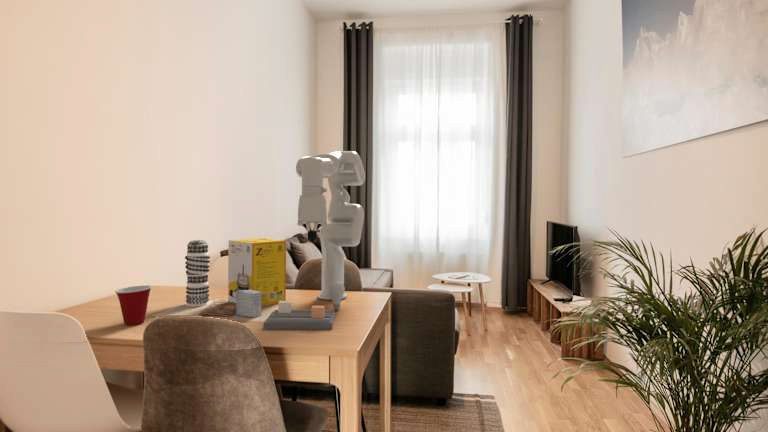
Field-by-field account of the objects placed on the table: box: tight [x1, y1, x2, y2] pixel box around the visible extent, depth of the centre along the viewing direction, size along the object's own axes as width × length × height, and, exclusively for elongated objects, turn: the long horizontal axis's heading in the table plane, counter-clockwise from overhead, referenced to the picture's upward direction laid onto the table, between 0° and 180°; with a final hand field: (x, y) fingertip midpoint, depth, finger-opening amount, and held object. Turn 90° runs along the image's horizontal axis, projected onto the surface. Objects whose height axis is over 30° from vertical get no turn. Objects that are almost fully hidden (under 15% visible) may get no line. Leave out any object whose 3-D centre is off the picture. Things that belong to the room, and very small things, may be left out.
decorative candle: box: [184, 239, 211, 308], centre depth 180 cm, size 9×9×25 cm
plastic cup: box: [114, 285, 153, 326], centre depth 152 cm, size 11×11×12 cm
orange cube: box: [311, 305, 326, 318], centre depth 152 cm, size 3×4×4 cm
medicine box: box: [235, 290, 262, 318], centre depth 165 cm, size 8×4×9 cm, turn 65°
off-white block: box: [277, 300, 292, 313], centre depth 159 cm, size 3×4×4 cm
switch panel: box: [263, 309, 336, 330], centre depth 156 cm, size 15×22×3 cm
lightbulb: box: [329, 281, 346, 311], centre depth 174 cm, size 6×6×11 cm
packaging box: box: [227, 237, 287, 307], centre depth 186 cm, size 16×16×25 cm
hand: (312, 241), depth 168 cm, fingers closed
